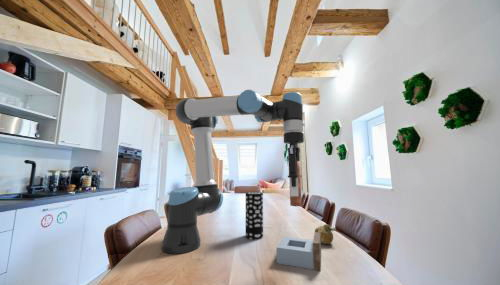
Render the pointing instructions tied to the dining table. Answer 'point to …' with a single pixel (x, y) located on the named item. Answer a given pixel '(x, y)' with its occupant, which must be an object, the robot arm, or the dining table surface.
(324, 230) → the onion
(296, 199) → the dowel
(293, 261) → the socket block
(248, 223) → the white-spotted black cylinder
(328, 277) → the dining table surface
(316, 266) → the walnut wall
